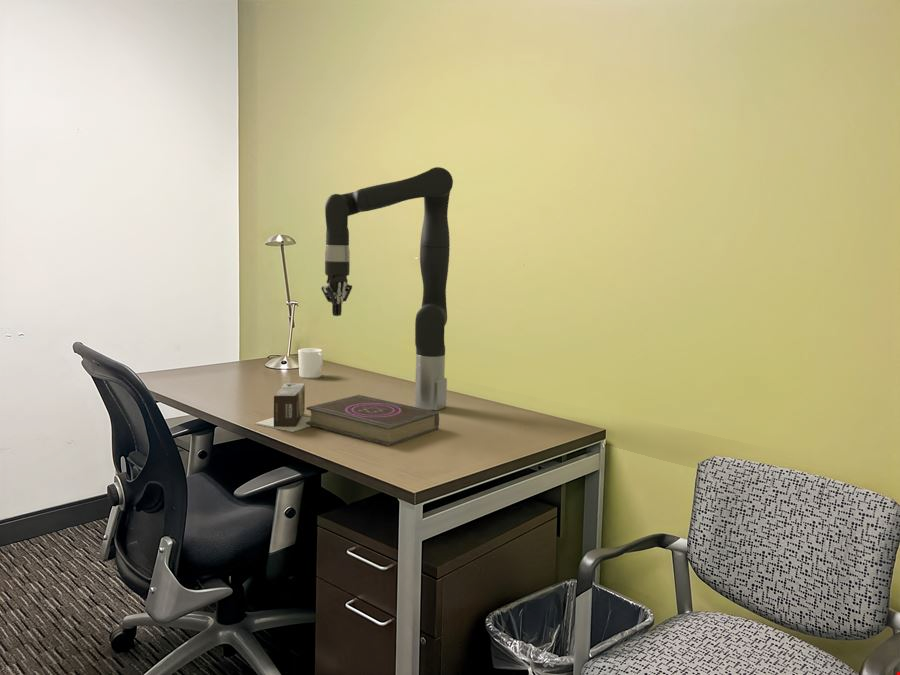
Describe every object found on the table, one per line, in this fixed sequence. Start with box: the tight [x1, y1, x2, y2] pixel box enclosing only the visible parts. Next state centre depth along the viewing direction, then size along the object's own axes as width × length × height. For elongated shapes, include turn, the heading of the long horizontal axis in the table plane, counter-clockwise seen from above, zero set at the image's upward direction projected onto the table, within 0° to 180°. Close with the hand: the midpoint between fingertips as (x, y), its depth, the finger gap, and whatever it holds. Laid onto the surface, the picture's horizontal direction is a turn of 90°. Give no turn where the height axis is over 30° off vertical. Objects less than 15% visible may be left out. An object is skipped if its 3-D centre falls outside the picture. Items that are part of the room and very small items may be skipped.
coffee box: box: [273, 382, 306, 427], centre depth 200 cm, size 9×6×16 cm
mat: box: [255, 413, 313, 433], centre depth 200 cm, size 14×16×1 cm
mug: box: [297, 347, 324, 380], centre depth 264 cm, size 11×9×10 cm
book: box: [305, 394, 440, 447], centre depth 197 cm, size 30×22×5 cm
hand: (336, 315), depth 217 cm, fingers closed
